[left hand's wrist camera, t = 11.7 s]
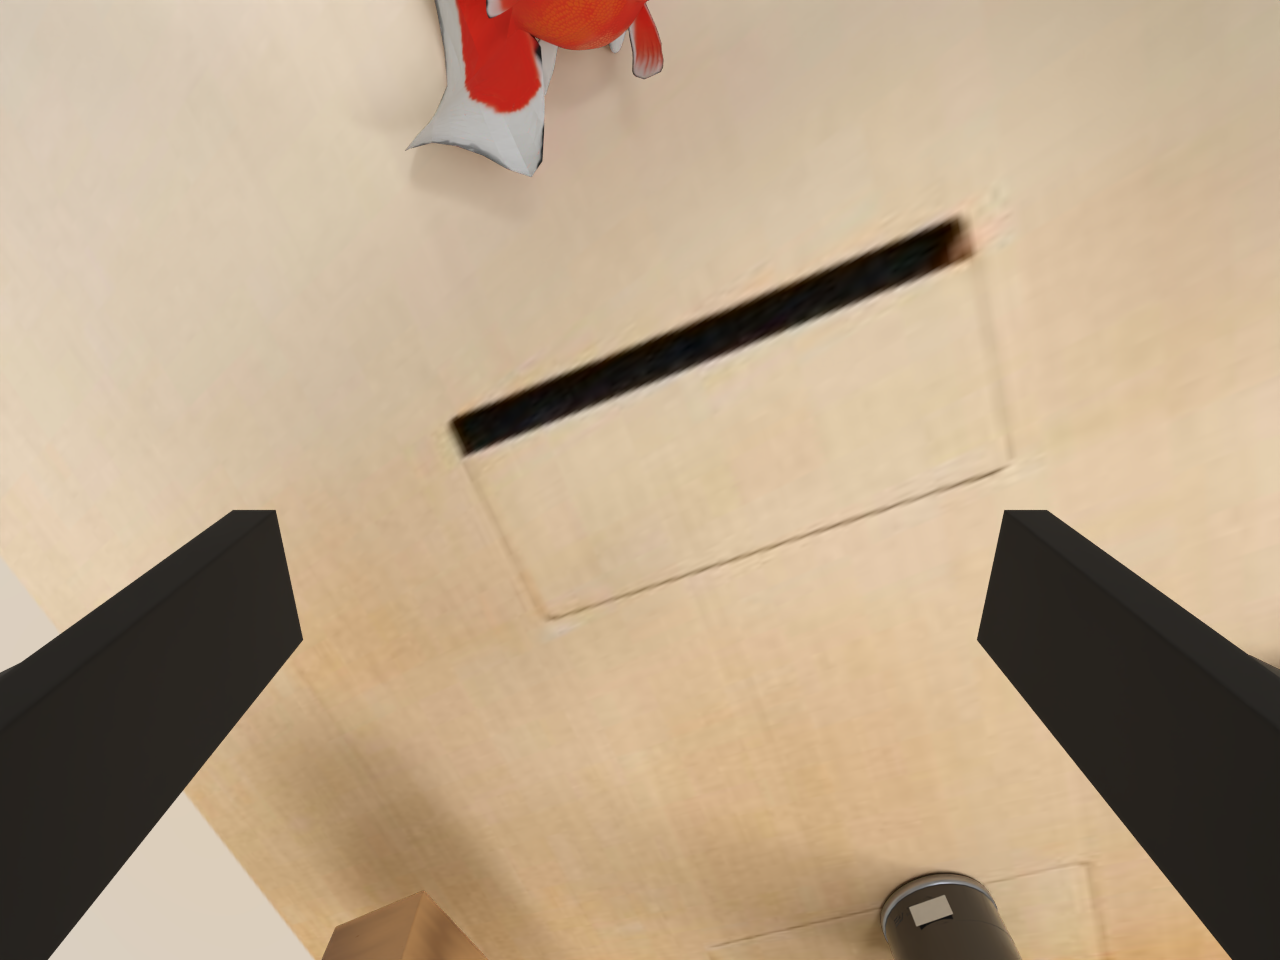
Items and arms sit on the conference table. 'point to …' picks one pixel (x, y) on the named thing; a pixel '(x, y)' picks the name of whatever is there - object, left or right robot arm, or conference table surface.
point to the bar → (402, 934)
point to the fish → (522, 68)
